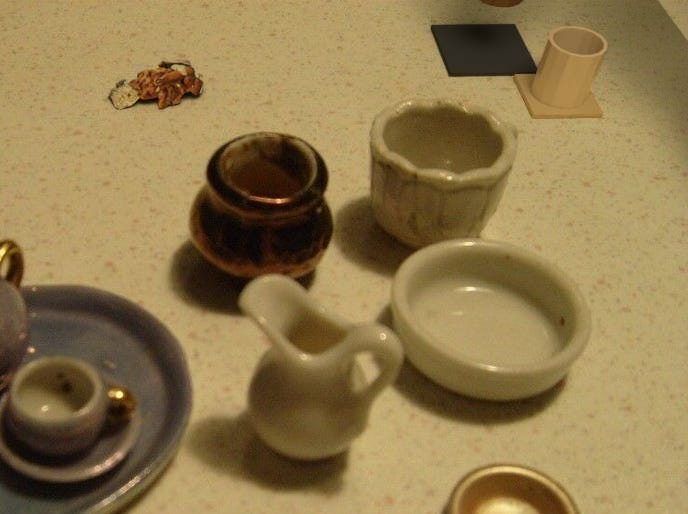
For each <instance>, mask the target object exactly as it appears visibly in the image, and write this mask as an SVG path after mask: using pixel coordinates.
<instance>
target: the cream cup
mask: <svg viewBox="0 0 688 514" xmlns="http://www.w3.org/2000/svg"><path fill="white" fill-rule="evenodd" d="M608 46H609V43H608V42H607V40H606V38H605V37H604V36H602V35H601V34H600V33H599V32H597V31H595V30H593V29H589V28H588V27H584V26H579V25H562V26H558V27H555V28H553V29H552V30H551V31H550V32H549V33H548V36H547V39H546V43H545V45H544V48H543V50H542V54H541V56H540V59H539V61H538V65H537V70H536V73H535V76H534V79H533V81H532V85H531V93H532V95H533V97H534V98H535V99H536V100H538V101H539V102H541V103H542V104H544V105H547V106H549V107H552V108H557V109H574V108H577V107H580V106H581V105H583V104H584V103H585V101H586V99H587V97H588V95H589V92H590V90H591V91H592V88H593V85H594V82H595V80H596V78H597V75H598V73H599V70H600V68H601V66H602V63H603V61H604V58H605V56H606V54H607V52H608Z"/></svg>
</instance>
